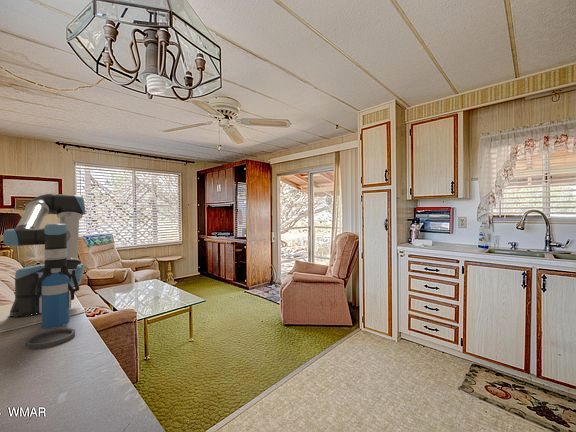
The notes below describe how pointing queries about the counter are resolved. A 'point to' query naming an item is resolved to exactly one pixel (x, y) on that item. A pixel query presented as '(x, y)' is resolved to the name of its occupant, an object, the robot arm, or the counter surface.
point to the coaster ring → (50, 338)
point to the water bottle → (55, 300)
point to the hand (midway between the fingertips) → (55, 309)
